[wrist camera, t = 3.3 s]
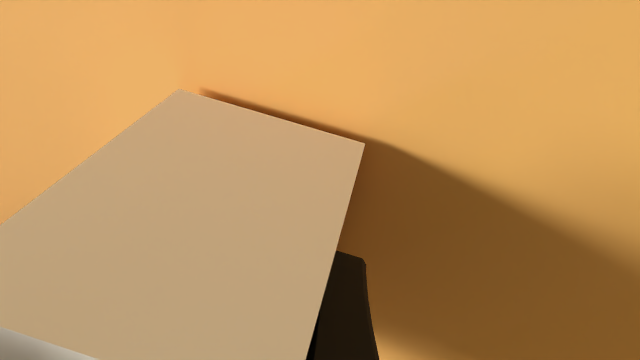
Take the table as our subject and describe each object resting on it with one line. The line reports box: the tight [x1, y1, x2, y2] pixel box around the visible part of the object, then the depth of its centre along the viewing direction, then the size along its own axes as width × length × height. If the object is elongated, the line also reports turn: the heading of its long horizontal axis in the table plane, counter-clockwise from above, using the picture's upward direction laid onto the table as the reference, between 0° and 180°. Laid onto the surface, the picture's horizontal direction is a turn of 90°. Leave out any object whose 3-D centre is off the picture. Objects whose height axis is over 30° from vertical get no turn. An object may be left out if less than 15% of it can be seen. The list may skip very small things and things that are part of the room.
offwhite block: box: [0, 89, 365, 360], centre depth 8 cm, size 4×5×6 cm
